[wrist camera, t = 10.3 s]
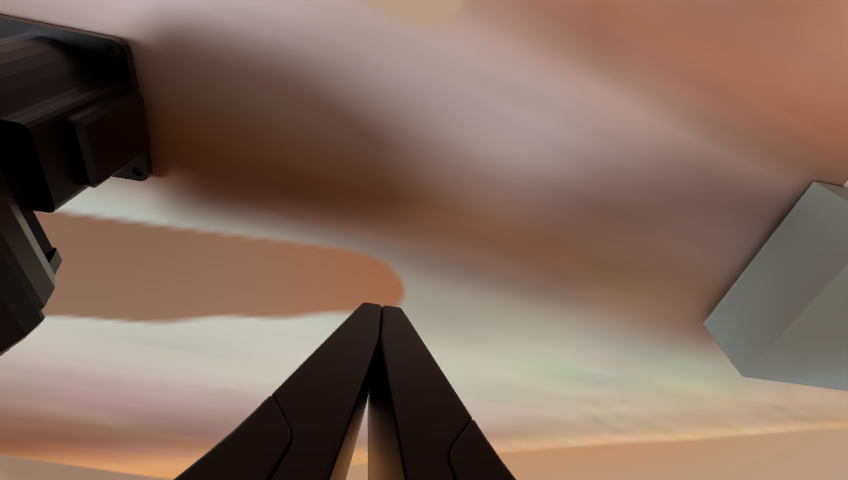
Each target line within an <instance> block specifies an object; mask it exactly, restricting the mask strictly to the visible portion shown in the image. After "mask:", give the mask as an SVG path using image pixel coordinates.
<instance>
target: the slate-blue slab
mask: <svg viewBox="0 0 848 480" xmlns="http://www.w3.org/2000/svg"><path fill="white" fill-rule="evenodd" d="M703 324H704V326H705V327H706V328H707V330H708V331H709V332H710V334H711V335H712V336H713V338H714V339H715V340H716V342H717V343H718V344H719V346H720V347H721V348H722V350H723V351H724V352H725V354H726V355H727V356H728V358H729V359H730V361H731V362H732V363H733V365H734V366H735V367H736V369H737V370H738V371H739V373H740V374H741V375H742V376H743V377H750V378H757V379H764V380H772V381H779V382H786V383H793V384H801V385H808V386H815V387H822V388H830V389H837V390H844V391H848V188H846V187H841V186H836V185H831V184H825V183H820V182H815V181H814V182H813V183H812V184H811V185H810V187H809V188H808V189H807V191H806V192H805V193H804V194H803V196H802V197H801V198H800V200H799V201H798V202H797V203H796V205H795V206H794V207H793V209H792V210H791V211H790V212H789V214H788V215H787V216H786V218H785V219H784V220H783V221H782V223H781V224H780V225H779V227H778V228H777V229H776V230H775V232H774V233H773V234H772V236H771V237H770V238H769V239H768V241H767V242H766V243H765V245H764V246H763V247H762V248H761V250H760V251H759V252H758V254H757V255H756V256H755V257H754V259H753V260H752V261H751V263H750V264H749V265H748V266H747V268H746V269H745V270H744V272H743V273H742V274H741V275H740V277H739V278H738V279H737V281H736V282H735V283H734V284H733V286H732V287H731V288H730V290H729V291H728V292H727V293H726V295H725V296H724V297H723V299H722V300H721V301H720V302H719V304H718V305H717V306H716V308H715V309H714V310H713V311H712V313H711V314H710V315H709V317H708V318H707V319H706V320H705V322H704V323H703Z"/></svg>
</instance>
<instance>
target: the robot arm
mask: <svg viewBox="0 0 848 480" xmlns="http://www.w3.org/2000/svg"><path fill="white" fill-rule="evenodd" d="M113 46H115V47H116V48H117V49H118V50H119V51H120V56H118V55H117V54H115V53H114V50H113ZM150 147H151V144H150V138H149V132H148V126H147V120H146V114H145V109H144V103H143V97H142V96H141V94H140V93H139V90H138V84H137V79H136V73H135V67H134V61H133V56H132V51H131V49H130V47H129V46H128V44H127V43H126V42H125V41H123V40H122V39H119V38H116V37H111V36H106V35H101V34H96V33H91V32H86V31H81V30H76V29H71V28H66V27H61V26H55V25H50V24H45V23H40V22H35V21H30V20H25V19H20V18H15V17H10V16H5V15H0V356H1V355H2V354H4V353H5V352H6V351H8V350H9V349H10V348H11V347H13V346H14V345H16V344H17V343H19V342H20V341H22V340H23V339H24V338H26V337H27V336H28V335H29V334H30V333H31V332H32V331H33V330H34V329H35V328H36V327H38V326H39V325H40V323H41V322H42V321H43V320H44V318H45V314H44V313H43V311H42V309H43V308H44V307H45V305H46V303H47V301H48V299H49V297H50V296H51V294H52V292H53V290H54V288H55V282H54V275H55V273H56V271H57V269H58V268H59V265H60V264H61V262H62V258H61V257H60V255H59V253H58V251H57V249H56V248H53V247H52V246H51V244H50V242H49V240H48V238H47V237H46V235H45V233H44V231H43V229H42V227H41V225H40V223H39V221H38V219H37V217H36V215H35V214H34V212H35V211H41V212H48V213H51V212H54V211H55V210H57V209H58V208H60V207H61V206H62V205H64V204H65V203H67V202H68V201H69V200H71V199H72V198H74V197H75V196H77V195H78V194H79V193H81V192H82V191H84V190H85V189H86V188H88V187H92V188H95V187H98V186H99V185H100V184H102V183H103V182H105V181H106V180H107V179H109V178H110V177H111V176H112V177H118V178H124V179H131V180H137V181H144V180H146V179H147V178H149V177H150V176H151V175H152V164H151V159H150V153H149V148H150ZM136 167H138V168H140V169H141V170H142V172H143V173H141V172H139V171H138V170H137V168H136ZM368 394H369V397H368ZM367 399H368V480H516V479H515V478H514V476H513V475H512V474H511V472H510V471H509V470H508V468H507V467H506V466H505V464H504V463H503V462H502V461H501V459H500V458H499V456H498V455H497V453H496V452H495V450H494V449H493V448H492V446H491V445H490V443H489V442H488V440H487V439H486V437H485V436H484V434H483V433H482V431H481V430H480V428H479V427H478V425H477V424H476V422H475V421H474V420H472V417H471V415H470V414H469V412H468V411H467V409H466V408H465V406H464V405H463V403H462V401H461V400H460V398H459V397H458V395H457V394H456V392H455V391H454V389H453V387H452V386H451V384H450V383H449V381H448V380H447V378H446V377H445V375H444V374H443V372H442V370H441V369H440V367H439V366H438V364H437V363H436V361H435V360H434V358H433V356H432V355H431V353H430V352H429V350H428V349H427V347H426V346H425V344H424V343H423V341H422V339H421V338H420V336H419V335H418V333H417V332H416V330H415V329H414V327H413V325H412V324H411V322H410V321H409V319H408V318H407V316H406V315H405V313H404V312H403V310H402V309H401V308H399V307H393V306H383V307H381V306H380V305H379V304H372V303H363V304H361V305H360V306H359V307H358V308H357V309H356V310H355V311H354V312H353V313H352V314H351V315H350V316H349V317H348V318H347V319H346V320H345V321H344V322H343V323H342V324H341V325H340V326H339V327H338V328H337V329H336V330H335V331H334V332H333V333H332V334H331V335H330V336H329V337H328V338H327V339H326V340H325V341H324V342H323V343H322V344H321V345H320V346H319V347H318V348H317V349H316V350H315V351H314V352H313V353H312V354H311V355H310V356H309V357H308V358H307V359H306V360H305V361H304V362H303V363H302V364H301V365H300V366H299V368H298V369H297V370H296V371H295V372H294V373H293V374H292V375H291V376H290V377H289V378H288V379H287V380H286V381H285V382H284V383H283V384H282V385H281V386H280V387H279V388H278V389H277V390H276V391H275V392H274V393H273V394H272V396H269V397H268V398H267V399H266V400H265V401H264V402H263V403H262V404H261V405H260V406H259V407H258V408H257V409H256V410H255V411H254V412H253V413H252V414H251V415H250V416H248V417H247V418H246V419H245V420H244V421H243V422H242V423H241V424H240V425H239V426H238V427H237V428H236V429H235V430H234V431H232V432H231V433H230V434H229V435H228V436H226V437H225V438H224V439H223V440H222V441H221V442H219V443H218V444H217V445H216V446H215V447H213V448H212V449H211V450H210V451H209V452H207V453H206V454H205V455H204V456H202V457H201V458H200V459H199V460H197V461H196V462H195V463H194V464H192V465H191V466H190V467H189V468H187V469H186V470H185V471H184V472H182V473H181V474H180V475H179V476H177V477H176V478H175V479H174V480H346V476H347V473H348V469H349V466H350V462H351V458H352V455H353V451H354V448H355V444H356V440H357V437H358V433H359V430H360V426H361V423H362V419H363V415H364V412H365V408H366V404H367Z"/></svg>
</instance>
